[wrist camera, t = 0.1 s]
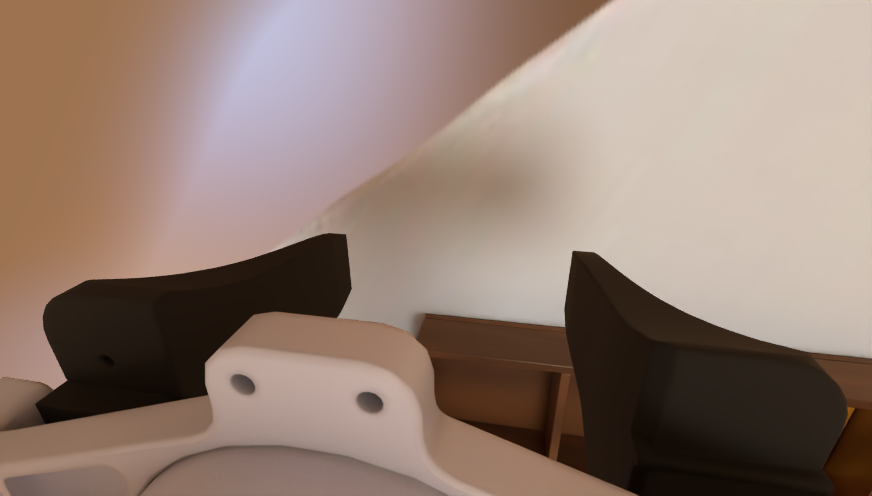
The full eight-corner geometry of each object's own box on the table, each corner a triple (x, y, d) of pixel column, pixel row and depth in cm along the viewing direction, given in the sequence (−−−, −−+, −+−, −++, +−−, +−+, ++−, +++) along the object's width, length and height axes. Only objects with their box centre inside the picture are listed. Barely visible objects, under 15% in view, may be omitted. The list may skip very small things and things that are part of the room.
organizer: (819, 470, 26) (859, 527, 23) (427, 414, 30) (416, 456, 27) (880, 359, 22) (937, 409, 19) (425, 313, 27) (412, 348, 23)
